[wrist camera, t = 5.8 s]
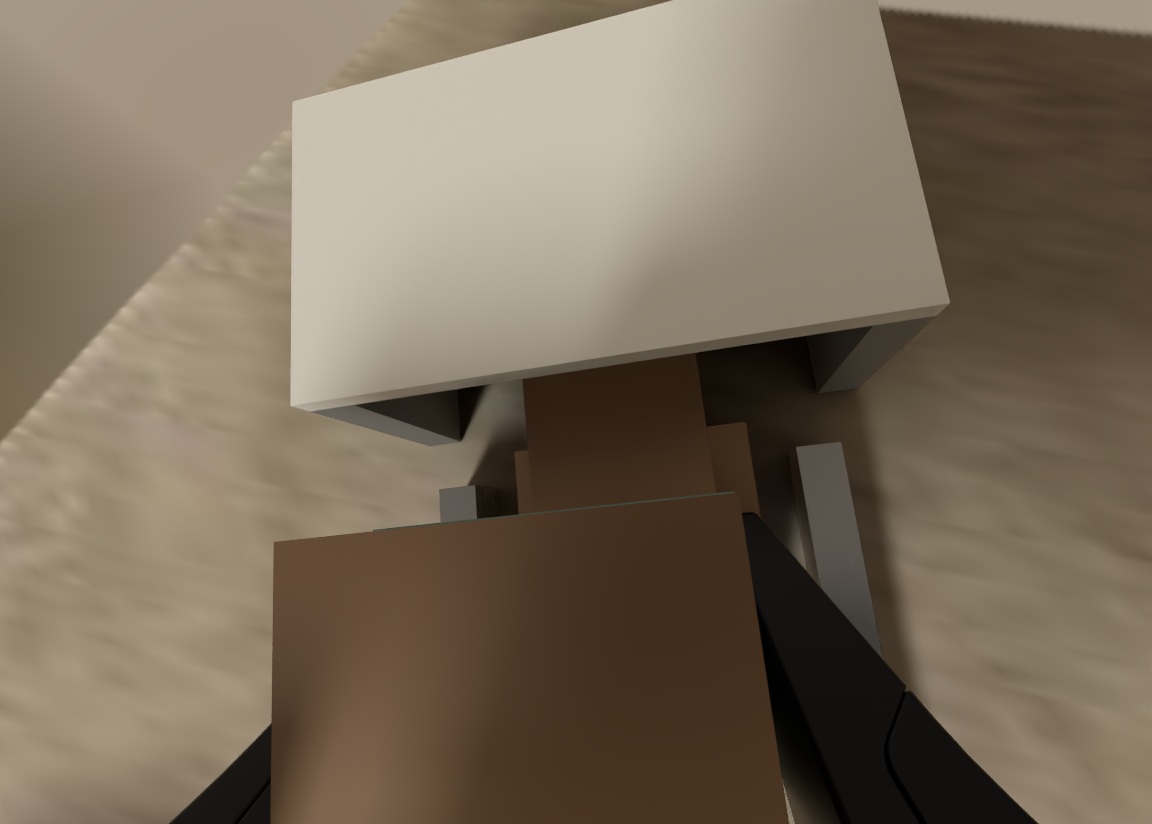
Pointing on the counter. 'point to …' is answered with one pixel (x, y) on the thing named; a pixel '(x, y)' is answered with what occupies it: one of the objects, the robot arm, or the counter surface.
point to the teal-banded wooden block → (541, 635)
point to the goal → (607, 209)
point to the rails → (820, 521)
